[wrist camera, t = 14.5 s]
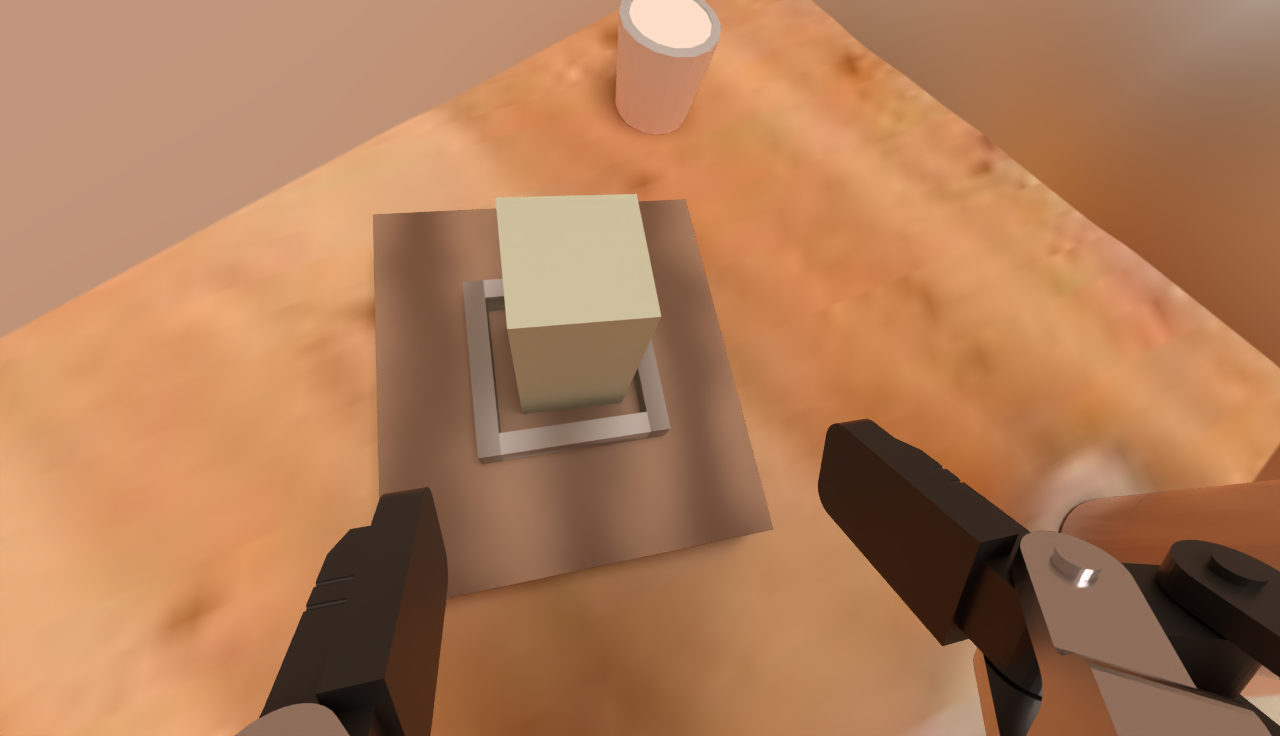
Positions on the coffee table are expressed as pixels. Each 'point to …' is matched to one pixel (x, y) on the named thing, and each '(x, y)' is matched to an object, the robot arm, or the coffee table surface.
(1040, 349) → the coffee table surface
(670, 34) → the pale pink cylinder
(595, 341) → the sage block
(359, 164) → the coffee table surface
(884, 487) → the robot arm
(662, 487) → the walnut plinth
